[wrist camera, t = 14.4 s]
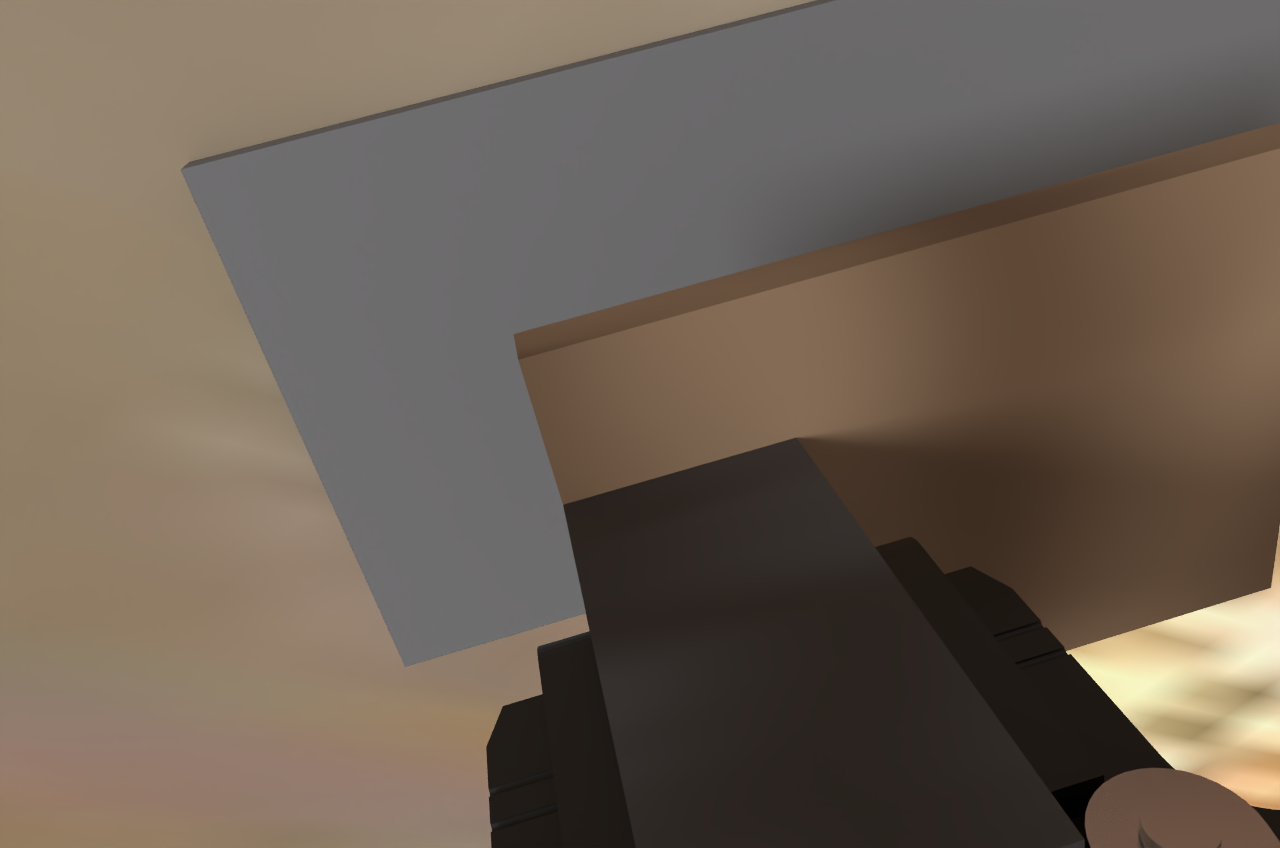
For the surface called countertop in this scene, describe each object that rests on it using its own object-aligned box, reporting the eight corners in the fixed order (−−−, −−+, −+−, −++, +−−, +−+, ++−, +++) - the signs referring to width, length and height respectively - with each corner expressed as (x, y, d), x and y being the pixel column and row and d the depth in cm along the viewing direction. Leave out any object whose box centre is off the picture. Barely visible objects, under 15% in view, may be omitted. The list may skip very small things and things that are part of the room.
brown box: (638, 740, 15) (771, 1288, 9) (513, 333, 11) (591, 771, 5) (1232, 558, 15) (1742, 952, 9) (1281, 121, 12) (2129, 299, 6)
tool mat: (406, 648, 21) (405, 666, 20) (189, 162, 16) (180, 169, 15) (1308, 382, 22) (1329, 393, 22) (1385, -147, 17) (1415, -150, 17)
